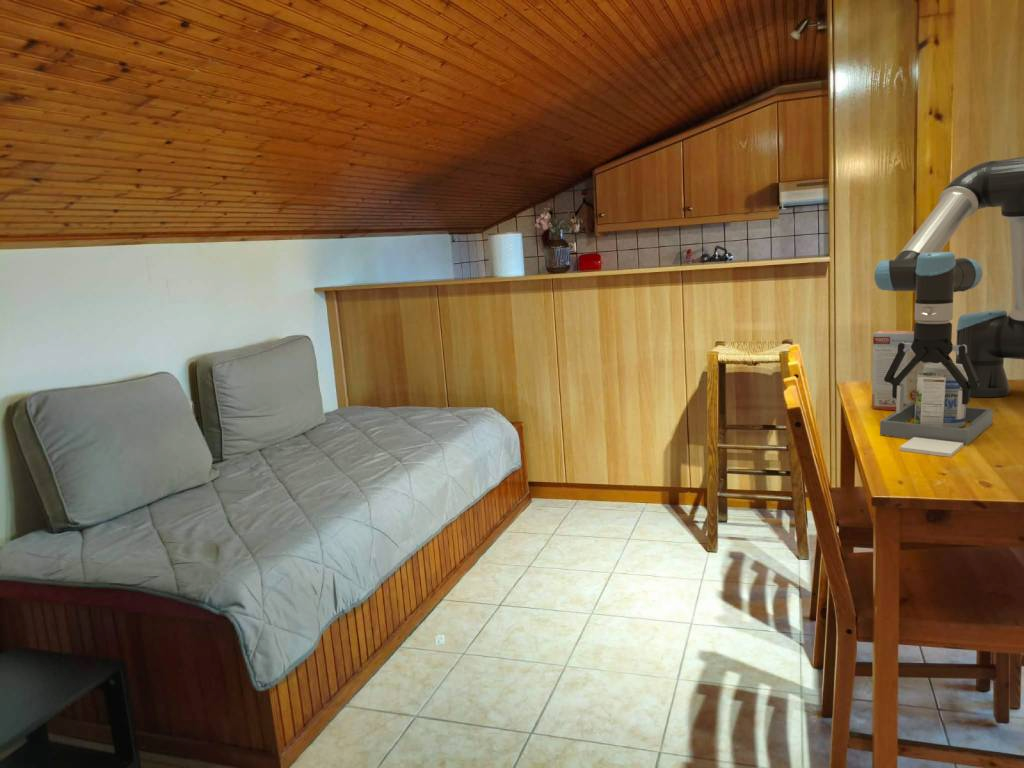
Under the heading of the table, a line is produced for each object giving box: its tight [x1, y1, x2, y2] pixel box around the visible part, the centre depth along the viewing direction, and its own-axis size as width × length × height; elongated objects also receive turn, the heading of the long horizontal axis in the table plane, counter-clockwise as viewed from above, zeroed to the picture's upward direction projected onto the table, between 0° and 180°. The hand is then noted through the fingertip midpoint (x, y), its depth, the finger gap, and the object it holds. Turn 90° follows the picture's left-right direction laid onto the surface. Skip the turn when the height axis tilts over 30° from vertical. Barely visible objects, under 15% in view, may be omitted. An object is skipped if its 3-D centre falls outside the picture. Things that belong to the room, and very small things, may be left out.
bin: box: [879, 402, 994, 446], centre depth 182 cm, size 24×18×4 cm
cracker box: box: [871, 330, 932, 412], centre depth 202 cm, size 14×6×21 cm, turn 48°
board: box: [899, 437, 964, 458], centre depth 167 cm, size 10×10×1 cm
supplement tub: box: [923, 362, 968, 428], centre depth 185 cm, size 10×10×15 cm
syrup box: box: [913, 372, 946, 426], centre depth 176 cm, size 6×6×14 cm
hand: (929, 415), depth 177 cm, fingers open, 12 cm apart
